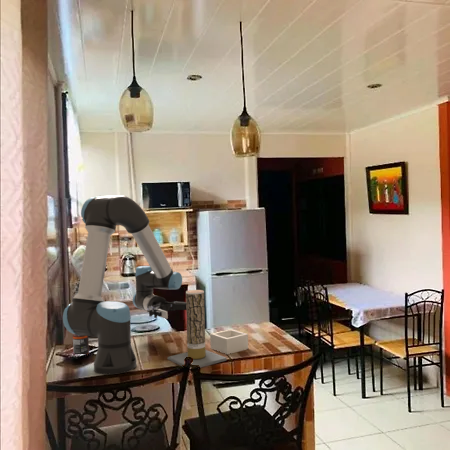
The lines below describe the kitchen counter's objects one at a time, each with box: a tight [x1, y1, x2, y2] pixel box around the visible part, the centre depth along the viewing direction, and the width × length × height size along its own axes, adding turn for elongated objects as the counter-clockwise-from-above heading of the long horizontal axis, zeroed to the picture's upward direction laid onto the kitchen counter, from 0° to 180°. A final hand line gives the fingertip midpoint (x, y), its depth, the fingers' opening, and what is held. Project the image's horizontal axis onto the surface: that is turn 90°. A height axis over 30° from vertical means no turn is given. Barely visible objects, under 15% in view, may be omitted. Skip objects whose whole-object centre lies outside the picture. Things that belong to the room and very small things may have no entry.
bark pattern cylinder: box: [185, 289, 206, 359], centre depth 177 cm, size 7×7×25 cm
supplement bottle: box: [72, 334, 90, 356], centre depth 187 cm, size 6×6×11 cm
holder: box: [209, 328, 249, 355], centre depth 191 cm, size 11×11×6 cm
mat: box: [167, 349, 228, 368], centre depth 177 cm, size 16×16×1 cm
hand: (182, 312), depth 184 cm, fingers open, 13 cm apart
